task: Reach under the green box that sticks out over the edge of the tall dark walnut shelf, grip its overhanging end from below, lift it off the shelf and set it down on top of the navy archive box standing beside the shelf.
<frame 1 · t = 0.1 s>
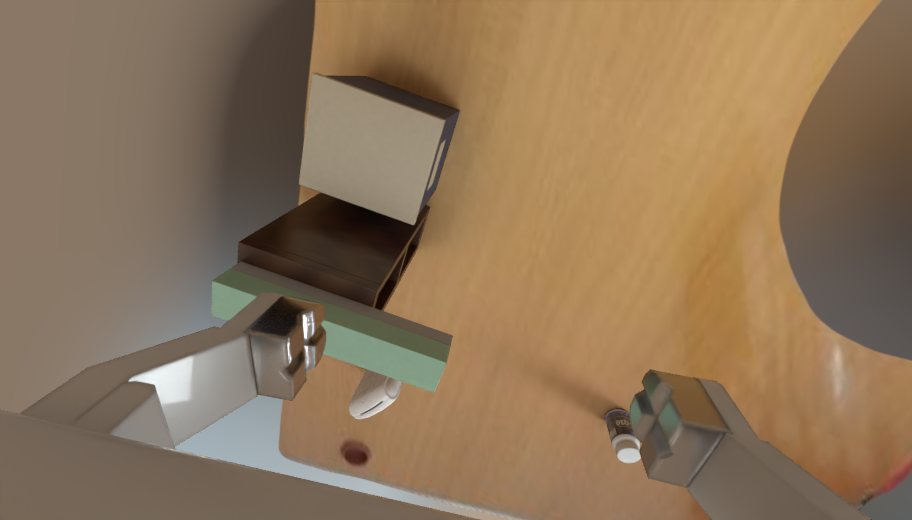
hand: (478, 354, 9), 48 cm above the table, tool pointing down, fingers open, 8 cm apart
green box: (344, 313, 37), point 26 cm above the table, touching shelf
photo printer: (390, 361, 74), on the table
archive box: (402, 135, 54), on the table
shelf: (383, 214, 60), on the table
pill bottle: (617, 416, 73), on the table
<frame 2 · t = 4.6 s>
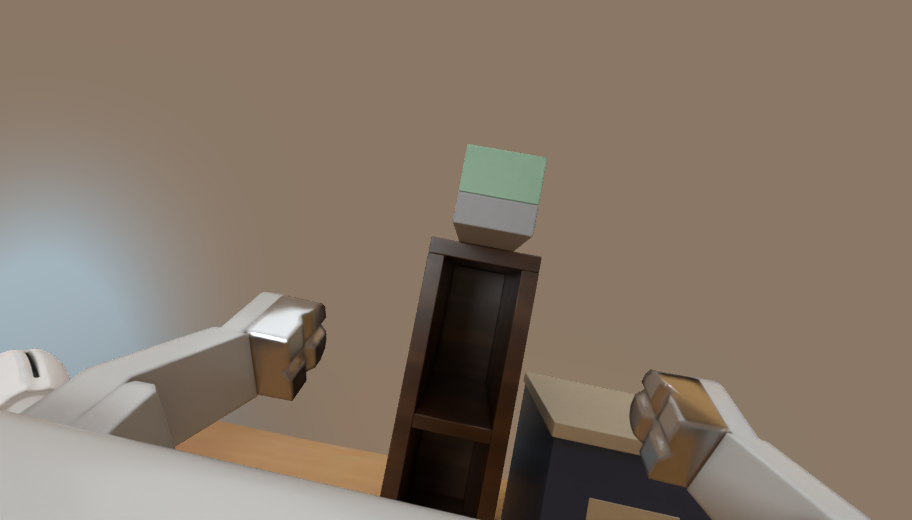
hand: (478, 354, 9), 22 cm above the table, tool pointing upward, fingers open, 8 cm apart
green box: (485, 249, 29), point 26 cm above the table, touching shelf
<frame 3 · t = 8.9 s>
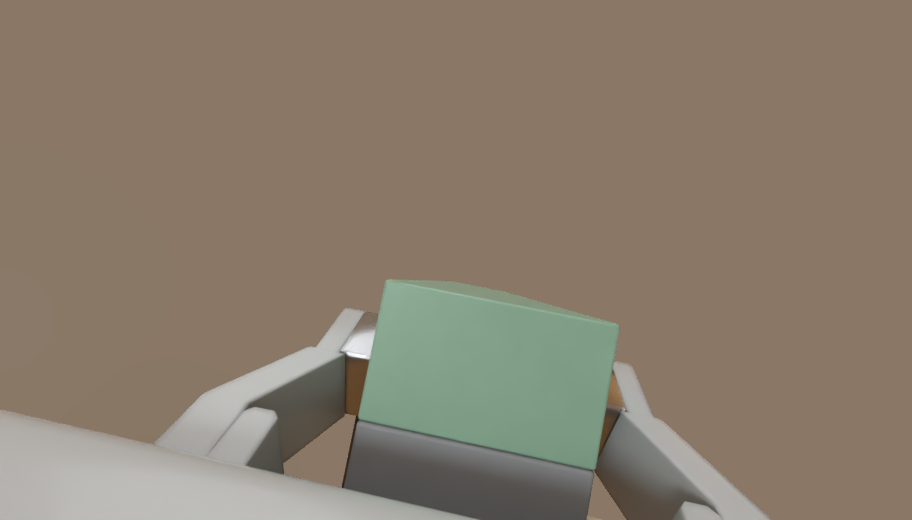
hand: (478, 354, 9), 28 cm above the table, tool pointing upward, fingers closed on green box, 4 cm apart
green box: (466, 375, 17), point 26 cm above the table, touching gripper, shelf
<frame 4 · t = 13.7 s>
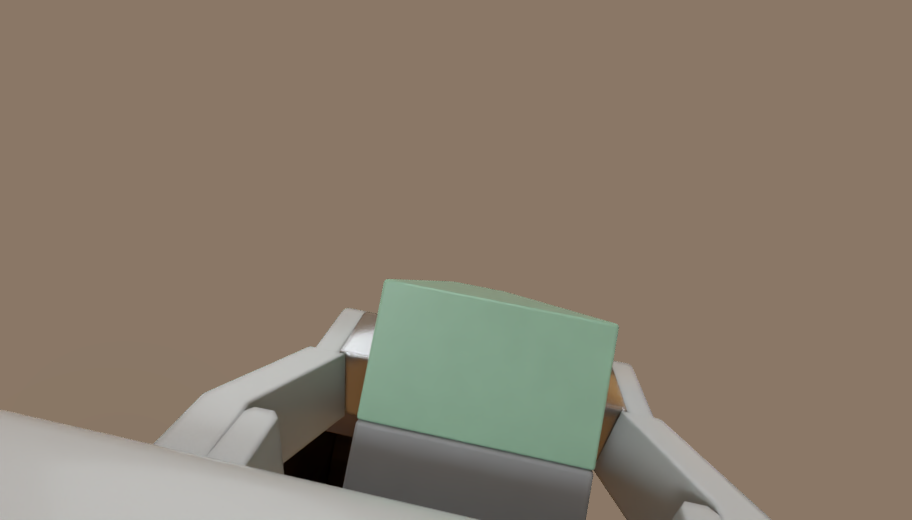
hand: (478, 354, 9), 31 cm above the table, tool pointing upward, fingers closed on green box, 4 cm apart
green box: (466, 375, 17), point 29 cm above the table, touching gripper
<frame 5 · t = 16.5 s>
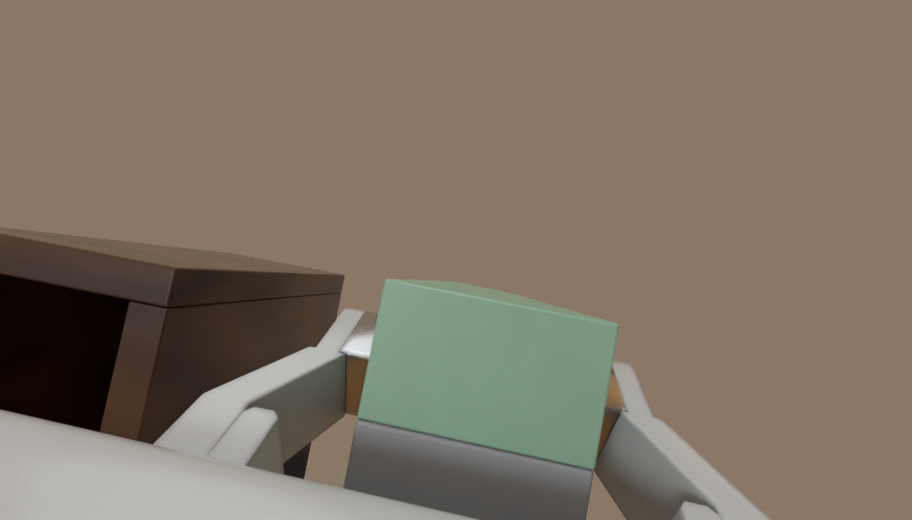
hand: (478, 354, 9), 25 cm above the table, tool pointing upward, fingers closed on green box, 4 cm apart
green box: (466, 375, 17), point 23 cm above the table, touching gripper
when the fingers open (17 cm above the table, at t = 19.0 s): green box stays where it is, resting on archive box.
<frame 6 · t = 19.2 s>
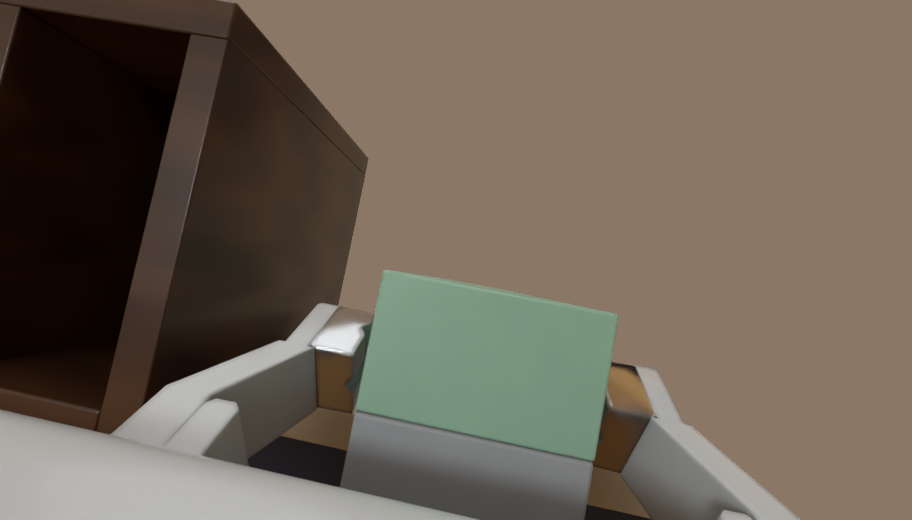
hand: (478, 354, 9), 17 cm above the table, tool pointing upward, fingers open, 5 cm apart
green box: (466, 372, 17), point 15 cm above the table, touching archive box
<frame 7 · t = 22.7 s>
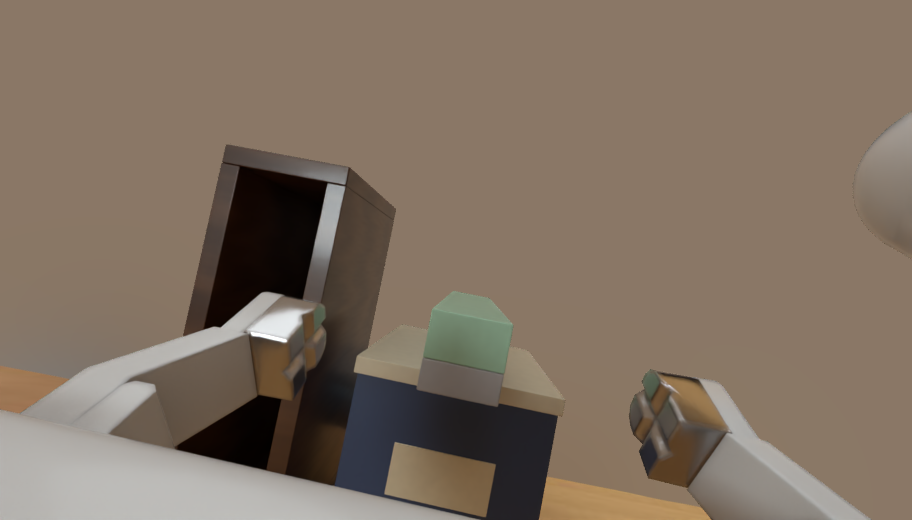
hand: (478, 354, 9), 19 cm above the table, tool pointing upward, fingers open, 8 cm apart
green box: (461, 352, 29), point 15 cm above the table, touching archive box
shelf: (261, 508, 29), on the table
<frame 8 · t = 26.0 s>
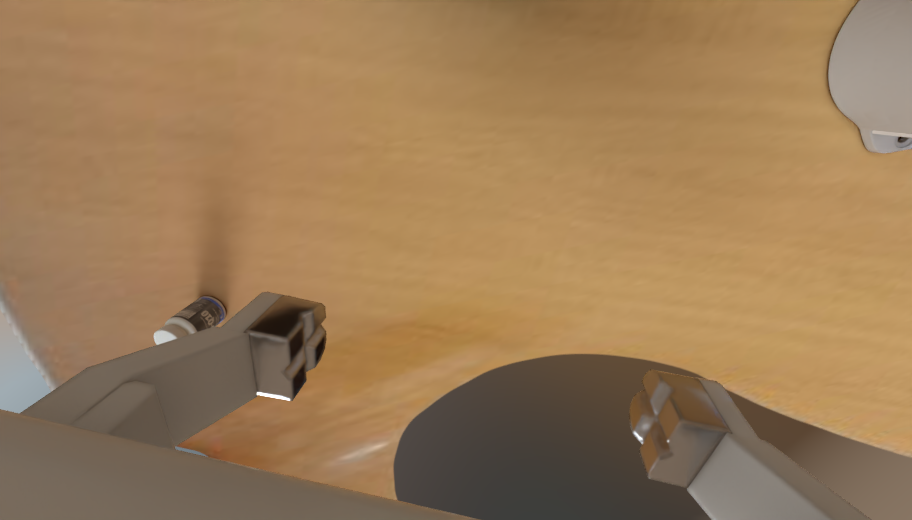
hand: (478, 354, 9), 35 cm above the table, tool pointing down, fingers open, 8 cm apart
pill bottle: (213, 307, 57), on the table
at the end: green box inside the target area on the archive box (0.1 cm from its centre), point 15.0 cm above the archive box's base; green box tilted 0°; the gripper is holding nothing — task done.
